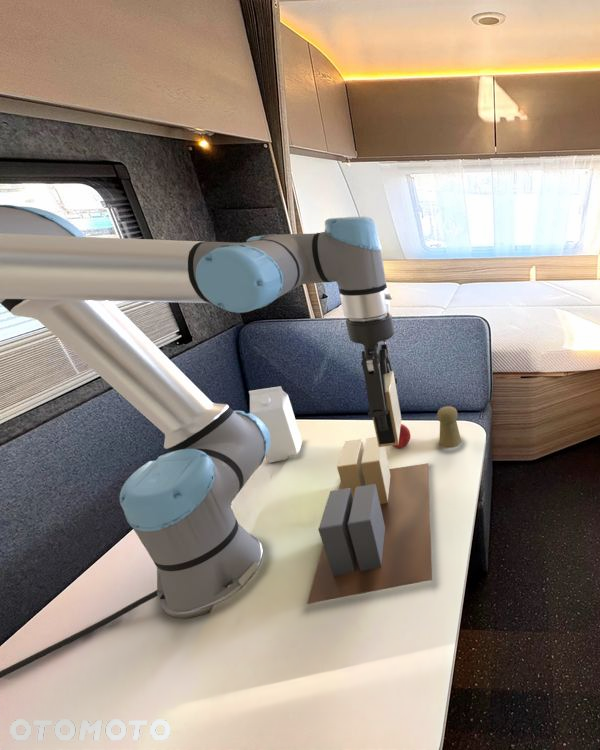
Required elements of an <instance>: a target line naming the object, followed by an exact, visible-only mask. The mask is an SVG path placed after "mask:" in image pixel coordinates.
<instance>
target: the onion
mask: <svg viewBox="0 0 600 750" xmlns="http://www.w3.org/2000/svg"><path fill="white" fill-rule="evenodd" d="M411 436H412V435H411V432H410V429H409V428H408V427H407V426H406V425H405V424H403V423H401V427H400V435H399V445H392V447H394V448H396V449H401V448H404V447H406V446H407V445H408V444H409V442H410V441H411Z"/></svg>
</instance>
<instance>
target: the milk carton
mask: <svg viewBox="0 0 600 750" xmlns="http://www.w3.org/2000/svg"><path fill="white" fill-rule="evenodd" d="M248 394H249V413H250V414H253V415H254V416H256V417H257V418H259V419H260V420H261V421H262V422H263V423H264V424H265V426H266V427H267V429H268V431H269V434H270V448H269V451H268V453H267V454H266V456H265V458H266V460H267V461H266V462H267V463H269V464H270V463H274V462H275V463H276V462H281V461H285V460H288V459H289V457H290V456H293V455H298V454H299V452H301V448H302V444H303V440H302V437H301V433H300V429H299V426H298V423H297V420H296V417H295V416H296V415H295V414H294V410H293V406H292V403H291V400H290V397H289V393H287V392H285V391H284V390H283V388H282V386H281V385H280V386H274V387H267V388H260V389H255V390H254V389H253V390H249V391H248Z"/></svg>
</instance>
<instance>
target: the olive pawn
mask: <svg viewBox="0 0 600 750" xmlns="http://www.w3.org/2000/svg"><path fill="white" fill-rule="evenodd" d="M436 417H437V420H438V422H439V442H438V443H439V445H440V446H441V447H442V448H445V449H452V448H456V447H458V446H459V445H460V444H461V443H462V438H461V434H460V430H459V427H458V422H457V420H458V417H459V413H458V410H457V409H456V408H455V407H454V406H450V405H449V406H443V407H441V408H440V409H438V411H437V413H436Z"/></svg>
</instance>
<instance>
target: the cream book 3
mask: <svg viewBox="0 0 600 750" xmlns="http://www.w3.org/2000/svg"><path fill="white" fill-rule="evenodd" d="M361 467H362V471H363V475H364V480H365V484H366V485H372V484H376V488H377V493H378V497H379V502H380V504H384V503H388V495H389V485H390V470H389V469H390V466H389V461H388V456H387V451H386V446H384V447H379V446H378V441H377V437H376V436H373V437H372V436H371V437H367V438H366V439H365V444H364V452H363V457H362V462H361Z"/></svg>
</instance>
